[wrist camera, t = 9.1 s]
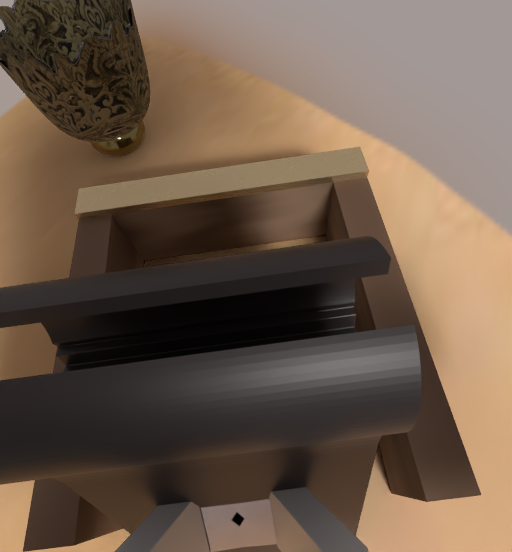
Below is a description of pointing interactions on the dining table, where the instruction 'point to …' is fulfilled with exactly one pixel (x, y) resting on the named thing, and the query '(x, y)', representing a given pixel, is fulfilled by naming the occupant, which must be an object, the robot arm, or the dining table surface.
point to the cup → (80, 67)
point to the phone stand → (211, 383)
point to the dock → (245, 232)
